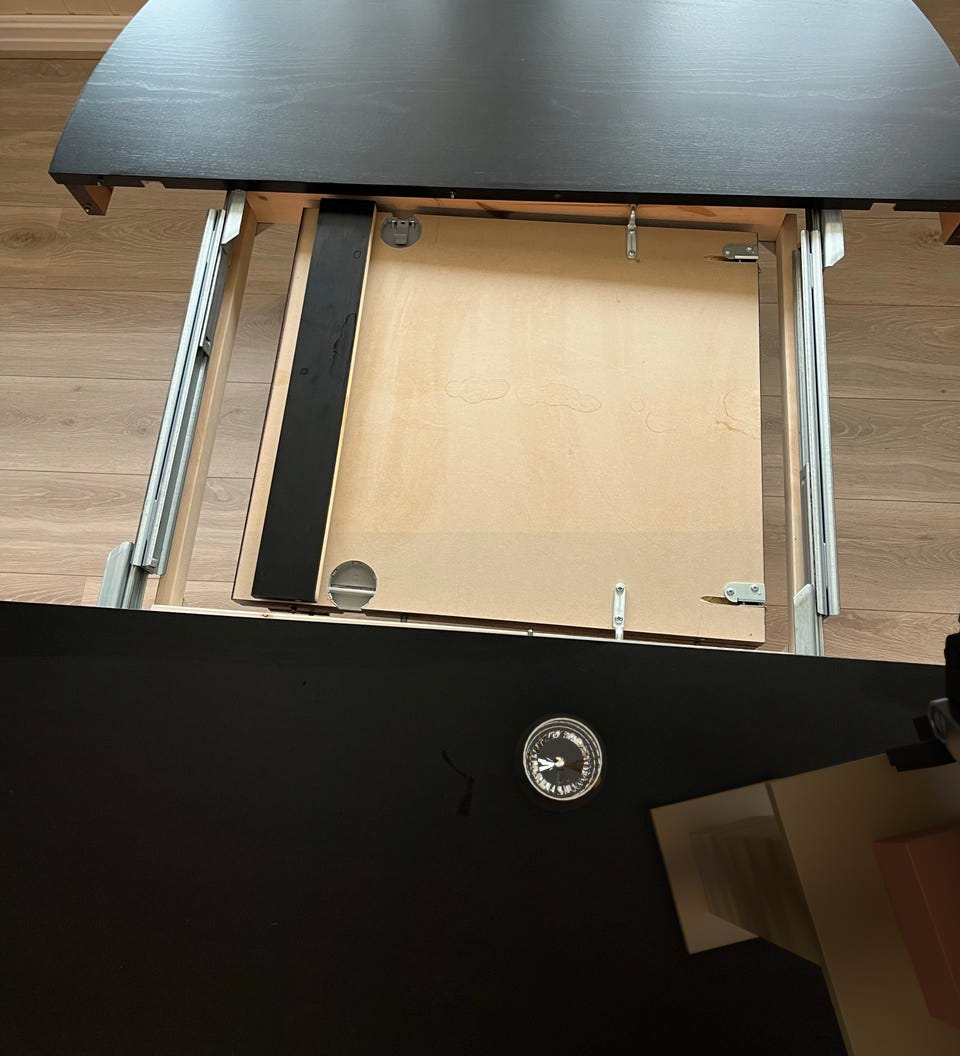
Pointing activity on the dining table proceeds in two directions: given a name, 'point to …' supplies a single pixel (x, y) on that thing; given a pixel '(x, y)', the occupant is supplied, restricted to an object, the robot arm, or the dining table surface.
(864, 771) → the pedestal
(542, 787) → the wineglass
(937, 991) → the block
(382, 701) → the dining table surface
